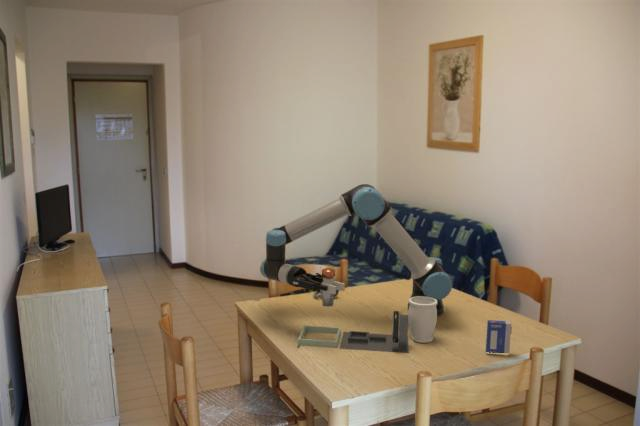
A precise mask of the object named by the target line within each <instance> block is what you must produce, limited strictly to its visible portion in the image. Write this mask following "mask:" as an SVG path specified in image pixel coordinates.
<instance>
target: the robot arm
mask: <svg viewBox="0 0 640 426" xmlns="http://www.w3.org/2000/svg"><path fill="white" fill-rule="evenodd" d="M354 215H356V216H358V217H359V218H360V219H361V220H362V221H363V222H364V224H365V225H366V226H367V227H369V228H374V230H375V231H376V232H377V233H378V234H379V235H380V236H381V238H382V239H383V240H384V241H385V243H387V245H388V246H389V247H390V249H392V251H393V252H394V254H396V255H397V257H398V258H399V259H400V260H401V262H403V264H404V265H405V266H406V267H407V268H408V270H409V271H410V272H411V275H410V277H411V278H410V279H412V292H411V294H410V297H409V299H410V298H412V297H417V296H424V297H431V298H434V299H436V300H437V302H438V303H437V305H436V308H437V317H439V316H442V314H444V311H445V306H444V303H443V300H444V299H445V298H447V297H448V296H449V294H450V293H451V291H452V288H453V282H452V279H451V277H450V275H449V274H448V273H446V272H445V270H444V269H443V268H442V266H443V260H442V258H439V257H433V256H432V257H430V256H427V255H426V253H425V252H424V251H423V249H421V247H420V246H419V245H418V244H417V243H416V241H415V240H414V239H413V238H412V236H411V235H409V233H408V232H407V231H406V229H405V228H404V227H403V226H402V224H400V222H399V221H398V220H397V218H395V216H394V215H393V214H392V206H391V205H390V204H389V203H388V202H387V200H386V199H385V197H384V196H383V194H382V193H381V192H380V191H379V190H378V189H376V188H375V187H374V186H373V185H370V184H368V183H367V184H366V183H364V184H359V185H357V186H355V187H352V188H351V189H350V190H347V191H345V192H344V193H342V194H340V196H339V198H337V199H335V200H334V201H331V202H329V203H327V204H325V205H323V206H320V207H319V208H317V209H314V210H312V211H310V212H309V213H307V214H304V215H303V216H300V217H298V218H296V219H294V220H292V221H290V222H288V223H286V224H284V225H282V226H279V227H274V228H273V229H270V230H268V231H267V232H266V236H265V249H266V250H265V254H266V255H265V256H266V258H265V259H264V260H263V261H262V262H261V265H260V268H259V270H260V271H259V272H260V274H261V276H263V277H264V278H267V279H269V280H270V281H271V280H272V281H276V282H280V283H282V284H285V285H287V286H289V285H290V286H292V287H296V288H302V289H306V290H309V291H312V292H320V290H322V291H325V292H328V293H332V294H336V290H339V292H345V290H346V288H345V287H346V284H345V282H340V281H335V280H334V286H333V285H329V284H326V283H323V276H322V273H319V272H315V274H313V273H309V272H307V270H305V268H304V267H301V266H296V265H294V264H289V263H286V245H288V244H291V243H292V242H294V241H296V240H299V239H300V238H302V237H304V236H308V235H309V234H311V233H313V232H315V231H317V230H319V229H321V228H323V227H325V226H327V225H330V224H332V223H334V222H336V221H338V220H340V219H342V218H344V217H346V216H350V217H352V216H354ZM409 306H410V304H409V301H408V302H407V311H408V310H409Z"/></svg>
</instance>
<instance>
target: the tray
mask: <svg viewBox="0 0 640 426" xmlns="http://www.w3.org/2000/svg"><path fill="white" fill-rule="evenodd" d="M341 330H342V328H341V327H340V326H339V327H338V326H337V327H335V326H323V325H322V326H320V325H319V326H318V325H303V327H302V329H301V331H300V334H299V335H298V337H297V348H300V347H301V346H307V347H308V346H310V347H324V348H326V347H327V348H338V345H339V340H340V336H341V333H342V331H341ZM307 332H310V333H326V334H327V333H329V334H336V335H335V340H326V339H310V338H308V339H307V338H305V335H306V333H307Z"/></svg>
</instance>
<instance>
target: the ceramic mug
mask: <svg viewBox="0 0 640 426" xmlns="http://www.w3.org/2000/svg"><path fill="white" fill-rule="evenodd" d="M339 292H340V290H336V294H334V299H336V298H337V296H338V295H339ZM313 298H314V299H315V300H316V299H320V298H321V299H322V298H323V291H322V290H320V292H317V291H314V293H313Z"/></svg>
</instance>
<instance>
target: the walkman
mask: <svg viewBox="0 0 640 426" xmlns="http://www.w3.org/2000/svg"><path fill="white" fill-rule="evenodd" d="M486 325H487V326H486V339H485V340H486V341H485V353H486V352H489V353H491V352H492V353H509V354H510V350H511V349H510V348H511V347H510V346H511V335H512V327H513V326H512V321H509V320H507V321H506V320H492V319H487V324H486Z"/></svg>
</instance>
